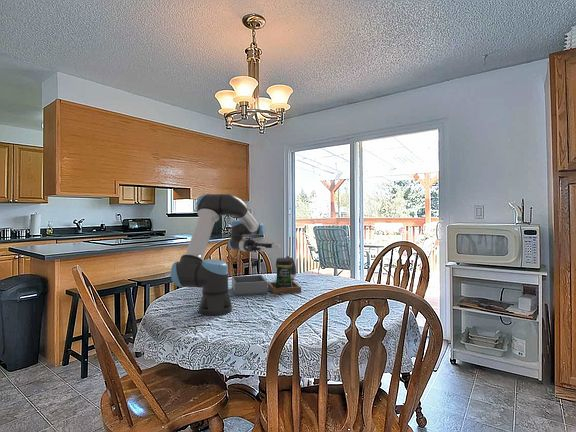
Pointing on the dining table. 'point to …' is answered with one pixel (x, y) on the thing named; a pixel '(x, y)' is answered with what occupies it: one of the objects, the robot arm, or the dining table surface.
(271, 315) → the dining table surface
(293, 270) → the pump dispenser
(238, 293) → the box
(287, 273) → the coffee jar
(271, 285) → the holder frame
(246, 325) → the dining table surface
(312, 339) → the dining table surface
